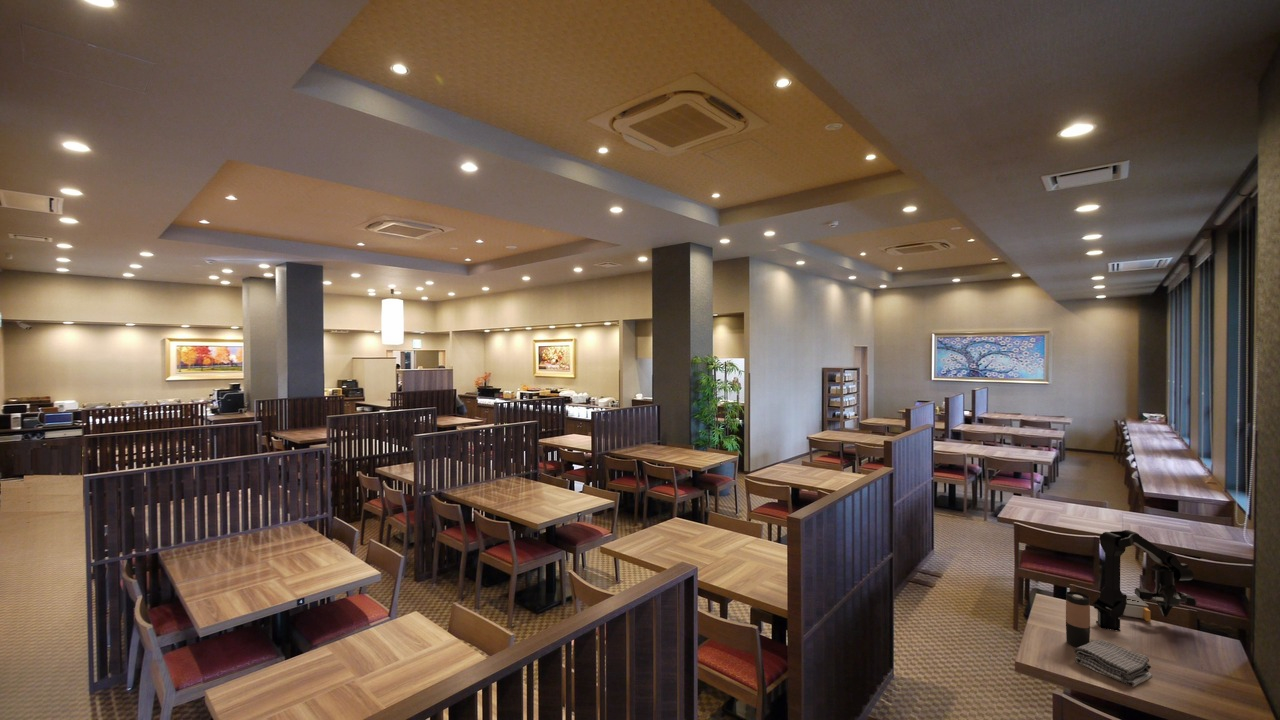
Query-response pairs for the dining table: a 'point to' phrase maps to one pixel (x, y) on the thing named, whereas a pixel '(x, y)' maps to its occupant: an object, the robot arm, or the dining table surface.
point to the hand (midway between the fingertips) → (1164, 616)
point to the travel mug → (1077, 619)
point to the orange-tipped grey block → (1134, 603)
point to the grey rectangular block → (1138, 612)
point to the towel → (1114, 661)
